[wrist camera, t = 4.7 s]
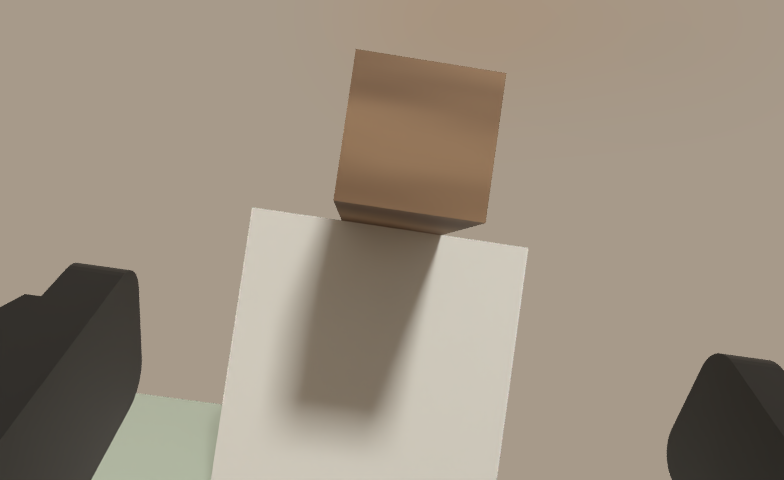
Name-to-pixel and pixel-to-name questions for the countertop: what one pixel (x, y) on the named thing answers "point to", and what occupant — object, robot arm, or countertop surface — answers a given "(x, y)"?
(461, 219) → the walnut block
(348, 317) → the stepped stand
